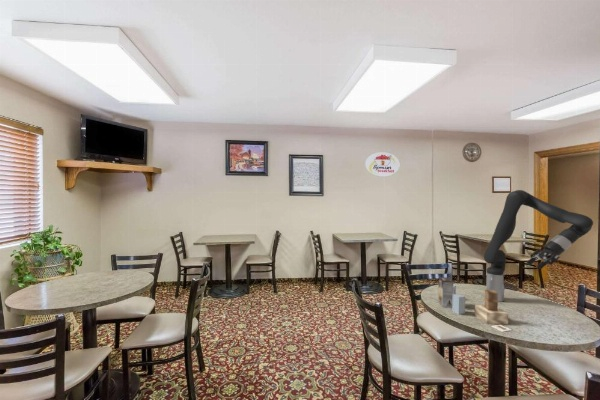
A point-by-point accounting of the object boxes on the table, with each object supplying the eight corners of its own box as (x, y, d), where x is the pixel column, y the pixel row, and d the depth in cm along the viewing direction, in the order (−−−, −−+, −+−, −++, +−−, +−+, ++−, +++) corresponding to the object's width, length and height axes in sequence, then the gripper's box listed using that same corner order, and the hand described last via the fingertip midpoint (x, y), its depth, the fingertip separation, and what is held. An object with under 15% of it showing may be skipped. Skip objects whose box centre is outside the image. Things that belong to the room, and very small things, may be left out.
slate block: (458, 310, 166) (458, 294, 166) (464, 313, 162) (465, 296, 162) (452, 311, 165) (452, 294, 165) (458, 314, 161) (458, 297, 160)
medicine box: (455, 298, 187) (456, 285, 187) (454, 300, 184) (454, 287, 184) (443, 295, 193) (443, 283, 193) (441, 297, 189) (441, 284, 189)
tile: (500, 325, 147) (500, 324, 147) (511, 330, 141) (511, 329, 141) (491, 326, 146) (491, 325, 146) (502, 331, 140) (502, 330, 140)
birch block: (494, 316, 160) (494, 305, 160) (508, 324, 149) (508, 313, 149) (474, 315, 160) (474, 305, 160) (486, 324, 149) (487, 312, 149)
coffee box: (437, 301, 181) (438, 276, 180) (448, 302, 179) (449, 277, 179) (442, 307, 172) (442, 280, 171) (453, 308, 170) (453, 281, 170)
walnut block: (493, 308, 156) (493, 290, 156) (497, 311, 152) (497, 292, 152) (484, 307, 157) (484, 289, 157) (488, 310, 153) (488, 292, 153)
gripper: (542, 238, 157) (519, 258, 159) (562, 242, 143) (536, 263, 145) (553, 248, 156) (529, 267, 158) (573, 253, 142) (548, 274, 144)
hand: (533, 265), depth 151 cm, fingers open, 8 cm apart
